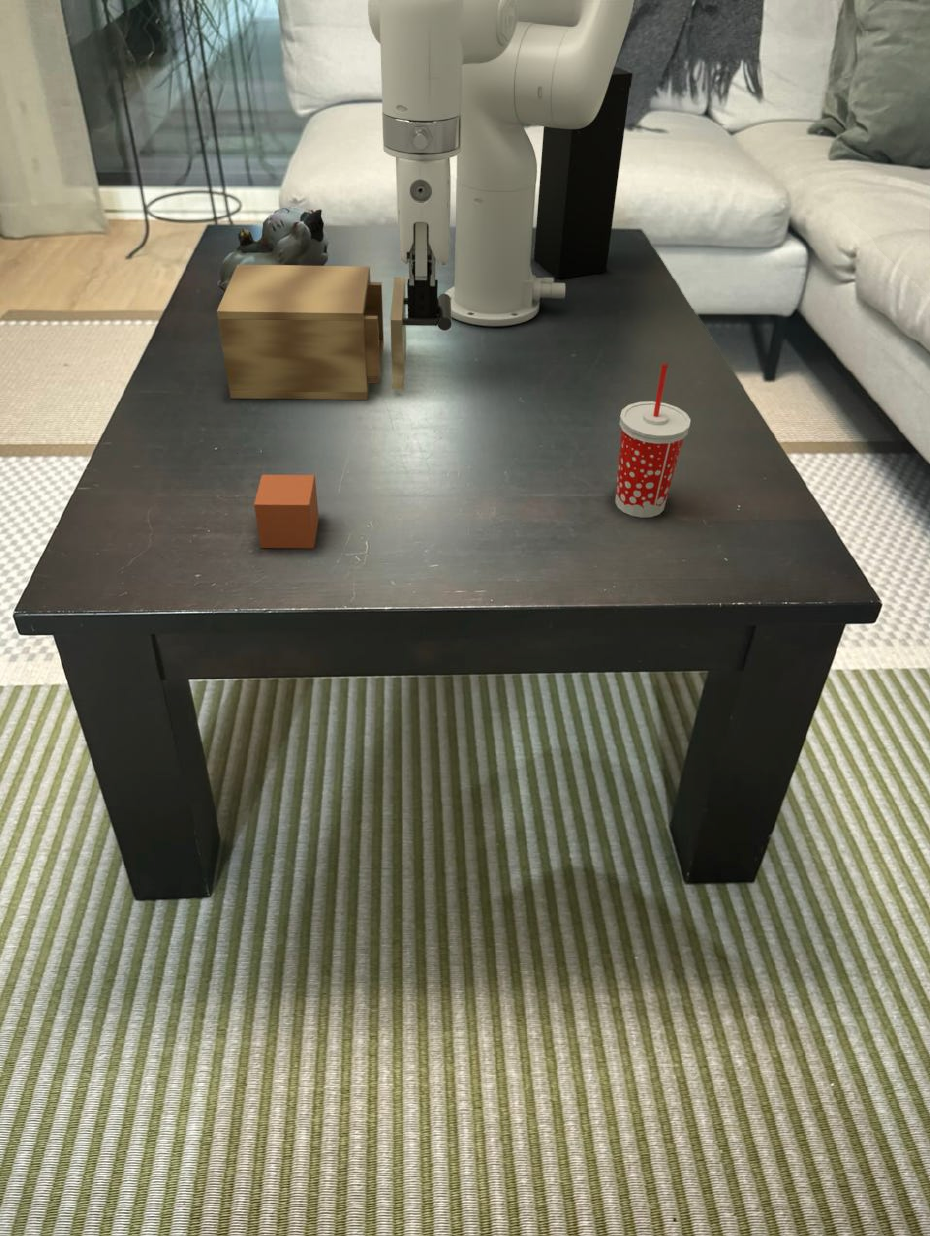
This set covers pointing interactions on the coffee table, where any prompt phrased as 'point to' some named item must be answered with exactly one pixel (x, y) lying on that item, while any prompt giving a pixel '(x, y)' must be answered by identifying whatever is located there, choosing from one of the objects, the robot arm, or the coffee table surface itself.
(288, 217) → the lucky cat figurine
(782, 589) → the coffee table surface
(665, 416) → the beverage cup
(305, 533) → the block
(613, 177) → the tall black pillar
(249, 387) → the cabinet
